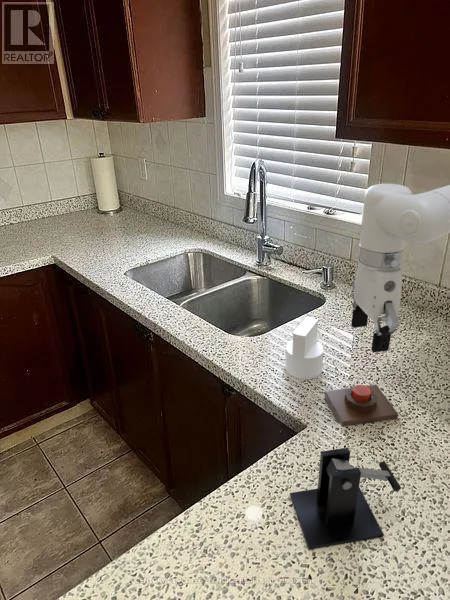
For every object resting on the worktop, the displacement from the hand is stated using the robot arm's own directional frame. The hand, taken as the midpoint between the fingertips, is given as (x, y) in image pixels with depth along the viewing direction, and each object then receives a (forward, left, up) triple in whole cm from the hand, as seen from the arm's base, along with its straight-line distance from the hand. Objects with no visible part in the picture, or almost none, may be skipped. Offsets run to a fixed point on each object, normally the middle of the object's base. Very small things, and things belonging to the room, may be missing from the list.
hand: (368, 337), depth 88 cm
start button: (0, 0, -15) cm, 15 cm away
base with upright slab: (+7, -17, -18) cm, 26 cm away
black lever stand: (+15, +24, -18) cm, 34 cm away
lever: (+11, +24, -10) cm, 28 cm away
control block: (0, 0, -18) cm, 18 cm away
